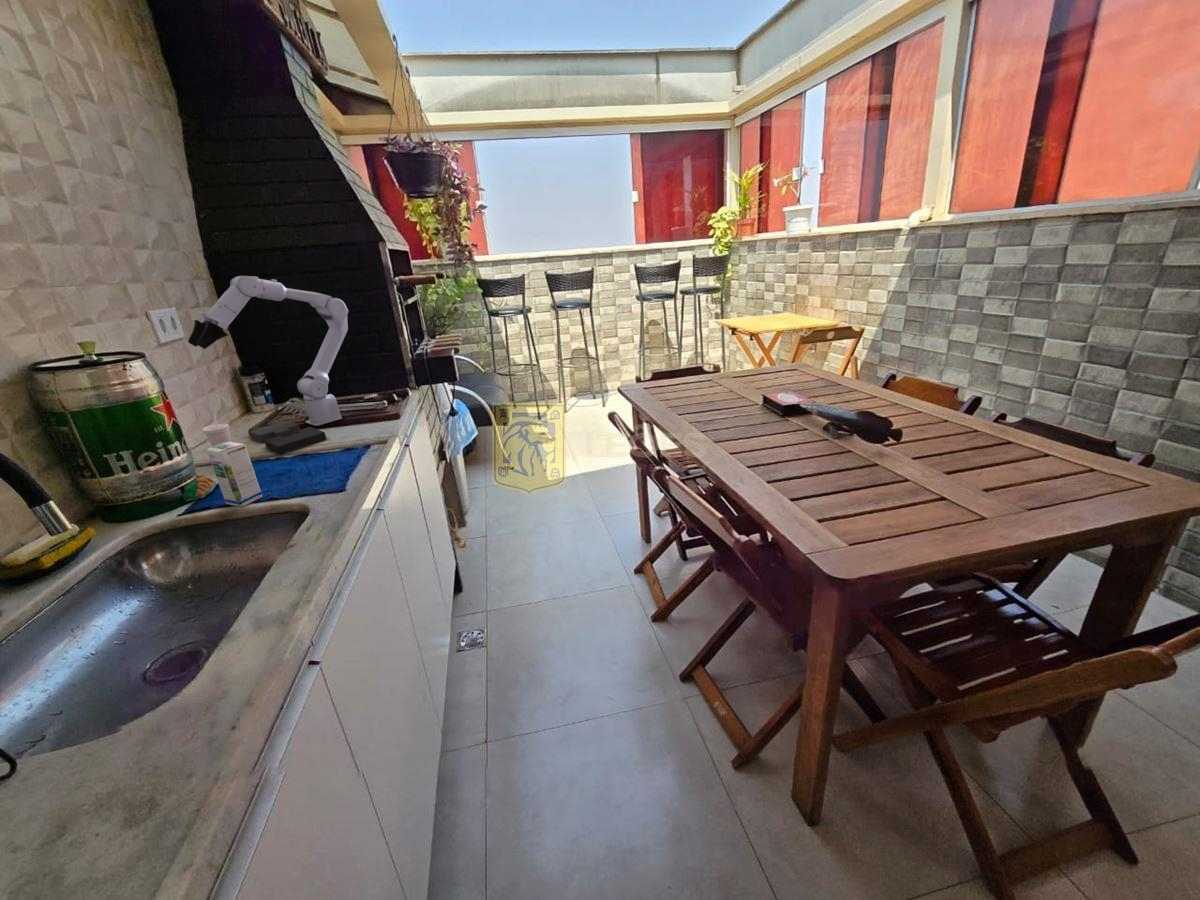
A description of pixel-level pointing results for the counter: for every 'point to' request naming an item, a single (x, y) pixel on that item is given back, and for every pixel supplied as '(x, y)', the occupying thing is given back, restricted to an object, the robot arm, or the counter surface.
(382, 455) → the counter surface
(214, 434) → the smoothie
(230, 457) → the syrup box
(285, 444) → the base pad
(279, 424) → the loose pad
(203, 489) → the pastry
